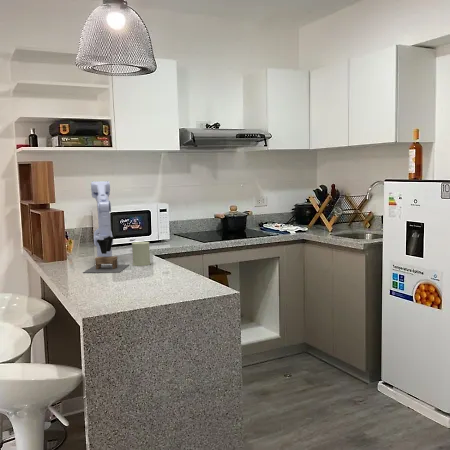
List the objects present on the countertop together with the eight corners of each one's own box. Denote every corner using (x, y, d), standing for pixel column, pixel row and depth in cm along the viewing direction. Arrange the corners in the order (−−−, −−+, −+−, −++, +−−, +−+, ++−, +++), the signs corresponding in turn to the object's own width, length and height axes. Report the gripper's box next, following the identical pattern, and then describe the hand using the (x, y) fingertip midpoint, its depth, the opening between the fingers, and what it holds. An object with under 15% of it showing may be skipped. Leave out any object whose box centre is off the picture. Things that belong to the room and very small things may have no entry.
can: (133, 266, 262) (132, 243, 261) (131, 263, 271) (130, 241, 270) (151, 265, 265) (150, 242, 264) (149, 262, 274) (148, 240, 273)
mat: (95, 265, 267) (95, 265, 267) (129, 265, 266) (129, 264, 266) (83, 273, 247) (82, 272, 247) (119, 272, 246) (119, 271, 246)
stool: (117, 267, 259) (117, 256, 259) (115, 269, 254) (114, 257, 254) (98, 267, 260) (97, 256, 259) (95, 269, 255) (95, 258, 254)
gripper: (101, 224, 262) (102, 250, 263) (92, 227, 248) (94, 254, 249) (114, 223, 262) (115, 250, 263) (106, 226, 247) (108, 254, 249)
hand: (106, 252), depth 256 cm, fingers open, 7 cm apart
